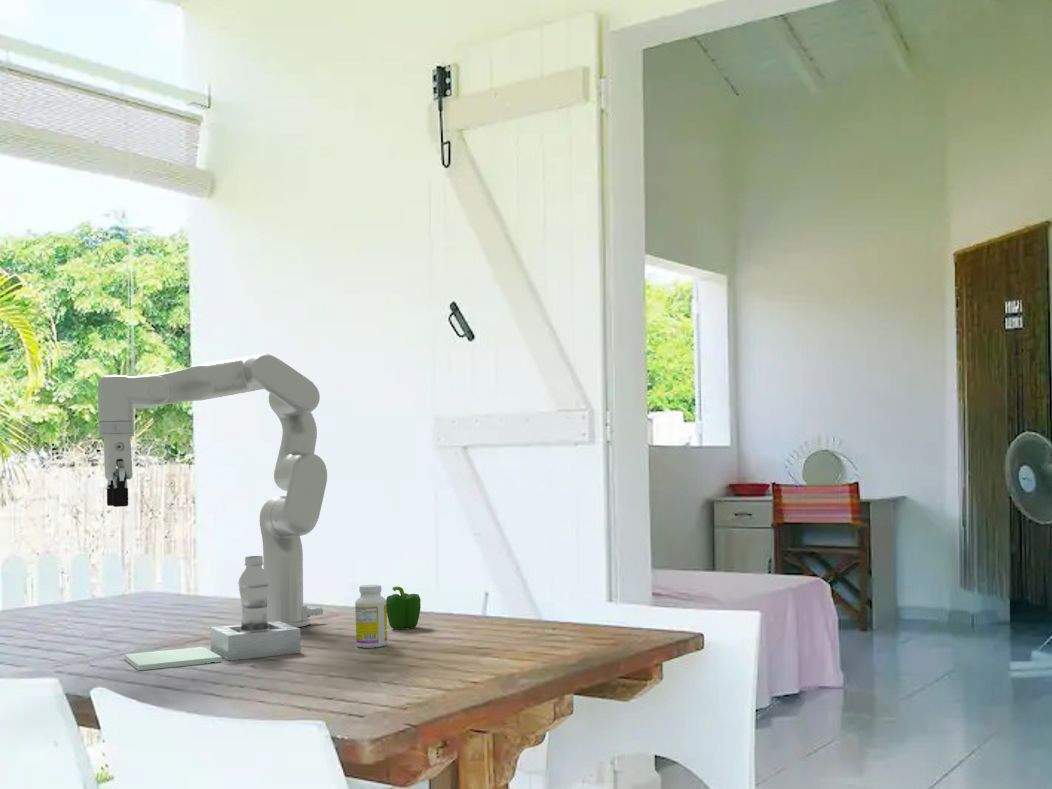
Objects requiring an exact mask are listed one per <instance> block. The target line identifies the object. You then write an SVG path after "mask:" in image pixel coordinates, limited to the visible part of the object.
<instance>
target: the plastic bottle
mask: <svg viewBox="0 0 1052 789" xmlns="http://www.w3.org/2000/svg"><path fill="white" fill-rule="evenodd" d="M244 566H245V569H244V570H243V572H242V573H241V575H240V577H239V578H238V579H239V580H238V588H239V596H240V604H241V605H240V607H241V623H240V625H241V631H240V632H250V631H261V630H269V628H268V627H269V625H268V615H267V606H268V592H269V582H270V581H269V578H268V576H267V574H266V572H265V571H264V570H263V555H249V556H248V555H247V556H245V558H244Z"/></svg>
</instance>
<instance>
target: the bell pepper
mask: <svg viewBox="0 0 1052 789" xmlns="http://www.w3.org/2000/svg"><path fill="white" fill-rule="evenodd" d="M392 591H393V592H396V591H399V594H398V593H392V594H391V595H388V596H387V597H386V598H385V599H386V610H387V620H388V623H389V626H390V628H391V629H395V630H404V629H407V628H410V629H414V628H416V626H418V622H419V619H420V614H421V609H422V608H421V605H422V604H421V596H420V595H419V593H418V594H417V593H410V594H409V593H407V592H405V591H404V589H403V588H402V587H401V586H396V585H395V586H393V587H392Z"/></svg>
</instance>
